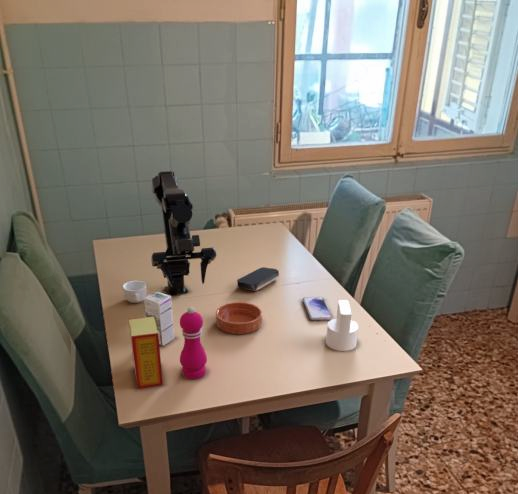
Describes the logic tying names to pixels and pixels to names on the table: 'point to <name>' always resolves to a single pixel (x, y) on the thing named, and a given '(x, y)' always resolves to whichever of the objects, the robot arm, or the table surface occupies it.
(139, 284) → the teacup
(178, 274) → the robot arm
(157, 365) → the baking soda box
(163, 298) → the syrup box
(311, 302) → the smartphone
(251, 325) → the bowl
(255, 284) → the black sponge
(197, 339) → the pepper mill
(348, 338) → the cylinder with rectangular tab
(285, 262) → the table surface
